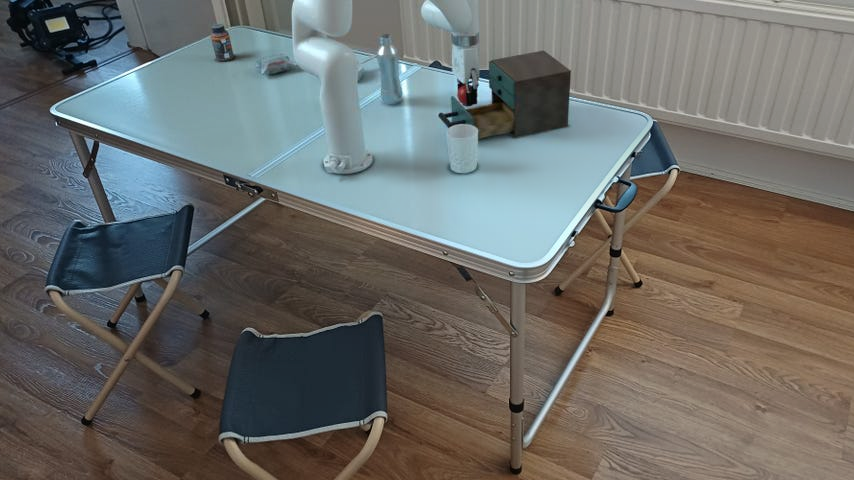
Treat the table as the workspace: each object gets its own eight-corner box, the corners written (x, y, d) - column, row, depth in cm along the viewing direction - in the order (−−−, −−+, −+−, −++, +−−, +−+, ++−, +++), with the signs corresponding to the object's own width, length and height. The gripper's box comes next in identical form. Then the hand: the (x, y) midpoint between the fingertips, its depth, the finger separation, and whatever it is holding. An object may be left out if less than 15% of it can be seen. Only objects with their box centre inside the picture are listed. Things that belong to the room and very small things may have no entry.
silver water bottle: (404, 97, 219) (399, 31, 207) (401, 107, 214) (395, 40, 201) (383, 97, 219) (376, 31, 207) (379, 106, 214) (372, 40, 202)
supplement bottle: (233, 61, 247) (225, 28, 240) (215, 62, 246) (207, 29, 239) (235, 54, 251) (227, 21, 244) (217, 56, 251) (209, 23, 244)
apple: (475, 109, 207) (474, 86, 203) (455, 107, 208) (454, 85, 204) (479, 100, 212) (479, 78, 208) (460, 99, 213) (459, 77, 209)
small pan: (324, 78, 232) (322, 67, 230) (367, 62, 242) (365, 50, 240) (345, 87, 226) (343, 76, 224) (388, 70, 236) (387, 58, 234)
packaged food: (298, 71, 237) (295, 57, 234) (262, 80, 233) (259, 65, 230) (289, 63, 243) (286, 49, 240) (255, 71, 239) (251, 56, 236)
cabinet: (509, 138, 196) (510, 82, 186) (486, 115, 207) (485, 61, 198) (567, 126, 200) (571, 70, 191) (541, 103, 212) (543, 50, 202)
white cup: (461, 156, 189) (460, 121, 183) (485, 165, 185) (484, 129, 179) (441, 168, 184) (439, 132, 178) (465, 178, 180) (464, 141, 174)
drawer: (453, 149, 191) (452, 122, 187) (434, 125, 203) (432, 99, 198) (524, 133, 197) (525, 107, 192) (502, 111, 208) (502, 86, 204)
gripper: (441, 30, 204) (444, 91, 215) (464, 51, 191) (466, 114, 202) (466, 26, 206) (468, 86, 217) (490, 46, 193) (491, 109, 204)
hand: (467, 99), depth 209 cm, fingers closed on apple, 5 cm apart
